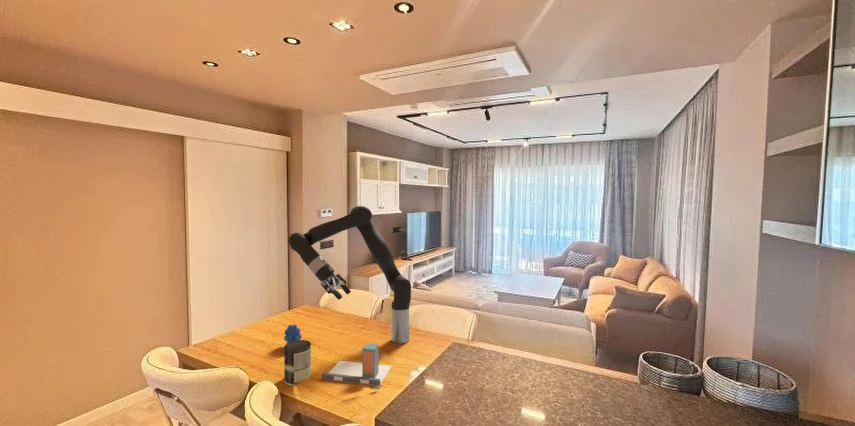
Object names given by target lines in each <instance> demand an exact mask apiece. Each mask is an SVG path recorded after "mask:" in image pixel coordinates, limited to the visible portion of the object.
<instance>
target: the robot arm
mask: <svg viewBox="0 0 855 426" xmlns="http://www.w3.org/2000/svg"><path fill="white" fill-rule="evenodd" d="M372 216H373V213H372V211H371V210H370V209H369V208H368V207H366V206H363V205H357V206H354V207H353V208H352V209H351V210H350V213H348V214H346V215H344V216H343V217H340V218H337V219H333V220H330V221H326V222H323V223H321V224H318V225H316V226H314V227H310V228H309V229H308V231H307V232H306V233H303V234H302V233H301V232H294V233H291V234H290V235H289V236H288V237H289V238H288V244H289V247H290V248H291V250H292V251H294V252H296V253H297V254H298V256H300V258H301V260H302V262H303V263H304V264H305V265H306V266H307V267H308V269H309V270H310V271H311V272H312V274H314V276H315V277H316V278H317V280H318V281H319V282H320V285H321V286H322V288H323V289H324V291H325V292H326V293H327V294H328V295H330V294H331V295H333V296H334V297H335V298H336V299H337V300H341V299H343V294H341V292H340V291H339V290H337V288H340V289H342V291H343V292H344V293H345V294H346V295H350V293H351V292H352V291H351V289H350V288H349V287H348V286H347V281H346V280H345V279H344V277H343V276H342V275H341V274H340V273H337V274H335V273H334V272H335V269H334V268H333V267H332V266H331V265H330V264H329V263H328V261H327V260H326V259H325V258H324V257H323V256H322V255H320V254H319V253H318V251H317V250H316V249H315V248H314V247H313V245H314V244H316V243H318V242H321V241H323V240H325V239H328V238H330V237H332V236H335V235H337V234H339V233H341V232H344V231H347V230H349V229H353V228H355V227H356V229H357V230H358V231H359V233H360V234H361V236H362V237H363V240H364V242H365V244H366V246H367V248H368V250H369V252H370V254H371V256H372V258H373V259H374V261H375V262H376V264H377V266H378V267H379V268H380V270H381V272H382V273H383V274H384V276H385V279H386V281H387V283H388V285H389V288H390V290H391V291H392V292H393V301H392V302H391V342H392V343H394V344H398V345H399V344H407V343H408V342H409V341H410V304H411V302H412V300H411V298H412V284H411V282H410V280H409V279H407V278H406V277H404V276H403V275H402V274H401V273H400V271H399V270H398V268H397V266H396V263H395V259H394V256H393V252H392V251H391V249H390V246H389V245H388V243H387V241H386V240H385V239H384V237H383V236H382V235H381V234H380V232H379V231H377V229H376V228H375V227H374V224H373V222H372V221H371V220H372V218H373V217H372Z"/></svg>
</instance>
